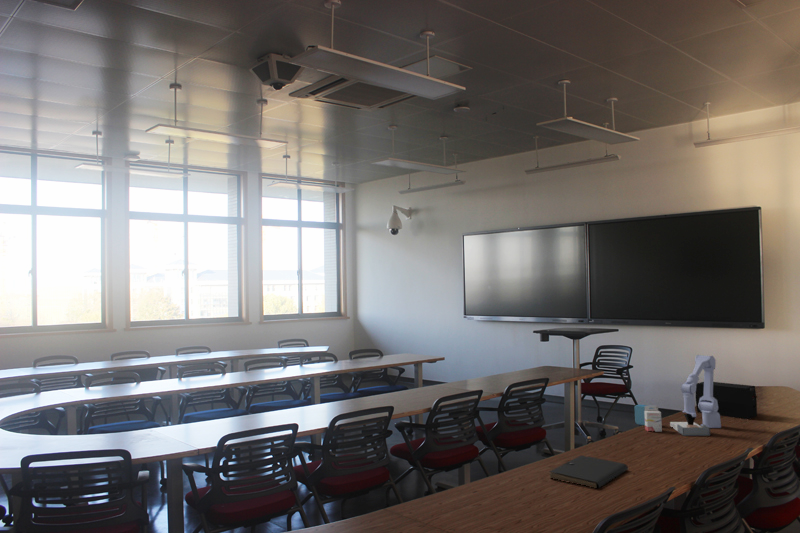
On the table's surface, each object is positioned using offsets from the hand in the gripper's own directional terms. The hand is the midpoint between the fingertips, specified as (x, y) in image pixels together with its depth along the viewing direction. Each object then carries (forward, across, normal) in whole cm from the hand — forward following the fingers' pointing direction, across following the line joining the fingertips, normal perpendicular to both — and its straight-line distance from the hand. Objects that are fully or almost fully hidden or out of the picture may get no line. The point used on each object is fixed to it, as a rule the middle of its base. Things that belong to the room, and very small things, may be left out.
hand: (690, 426), depth 337 cm
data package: (+3, -19, -20) cm, 28 cm away
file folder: (+4, +82, -75) cm, 111 cm away
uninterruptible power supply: (+3, -48, +40) cm, 63 cm away
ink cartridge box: (+3, -3, -20) cm, 21 cm away
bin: (+3, +4, 0) cm, 5 cm away
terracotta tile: (+1, +4, 0) cm, 4 cm away
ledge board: (+3, -8, 0) cm, 9 cm away
